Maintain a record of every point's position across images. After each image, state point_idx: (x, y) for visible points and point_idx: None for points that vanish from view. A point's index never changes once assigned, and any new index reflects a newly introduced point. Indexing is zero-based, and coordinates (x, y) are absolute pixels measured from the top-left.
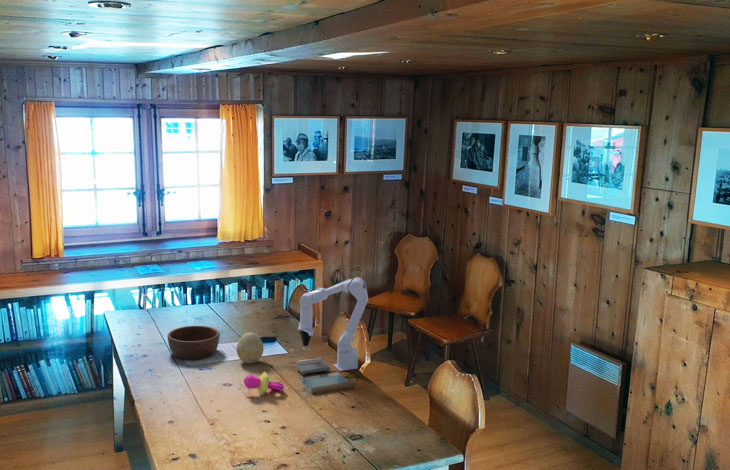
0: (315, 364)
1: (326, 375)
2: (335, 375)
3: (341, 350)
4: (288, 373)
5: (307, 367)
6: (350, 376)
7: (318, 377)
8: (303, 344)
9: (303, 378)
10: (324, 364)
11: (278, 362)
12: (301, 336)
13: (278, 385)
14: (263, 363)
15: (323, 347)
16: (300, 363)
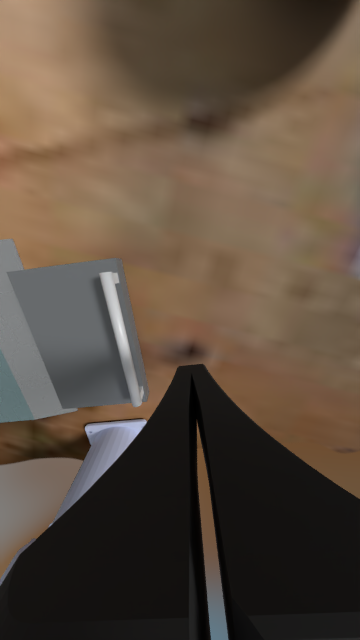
0: (98, 360)
1: (38, 371)
2: (27, 400)
3: (19, 550)
4: (82, 210)
5: (60, 313)
6: (39, 437)
7: (8, 337)
8: (186, 370)
9: (4, 271)
10: (94, 395)
11: (252, 188)
12: (237, 437)
13: None
14: (271, 67)
15: (338, 430)
16: (121, 290)
